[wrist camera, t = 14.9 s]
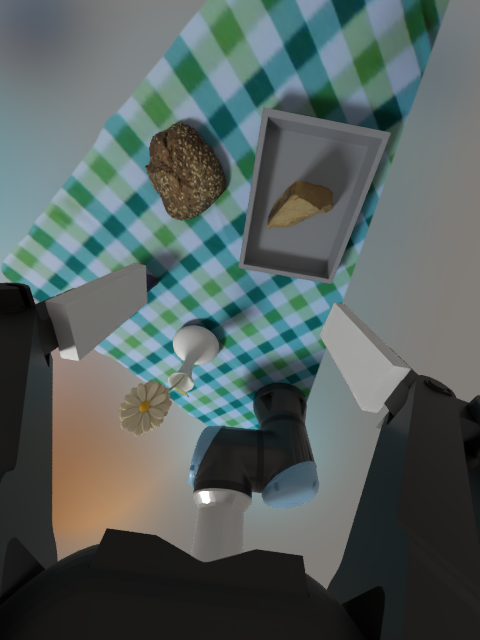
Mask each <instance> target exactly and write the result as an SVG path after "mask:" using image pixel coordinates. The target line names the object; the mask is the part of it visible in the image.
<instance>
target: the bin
mask: <svg viewBox="0 0 480 640" xmlns="http://www.w3.org/2000/svg"><path fill="white" fill-rule="evenodd" d="M390 134H391V133H390V132H385V131H380V130H375V129H370V128H365V127H360V126H355V125H350V124H345V123H340V122H335V121H330V120H325V119H320V118H314V117H309V116H304V115H299V114H294V113H289V112H284V111H279V110H274V109H269V108H264V107H263V113H262V120H261V126H260V133H259V139H258V146H257V152H256V158H255V165H254V171H253V178H252V184H251V191H250V197H249V203H248V210H247V216H246V223H245V229H244V236H243V242H242V248H241V255H240V261H239V268H242V269H248V270H253V271H259V272H265V273H271V274H277V275H282V276H288V277H294V278H300V279H306V280H311V281H317V282H323V283H329V284H332V281H333V279H334V276H335V274H336V271H337V269H338V266H339V264H340V261H341V259H342V256H343V254H344V251H345V248H346V246H347V243H348V241H349V238H350V236H351V233H352V231H353V228H354V226H355V223H356V221H357V218H358V215H359V213H360V210H361V208H362V205H363V203H364V200H365V198H366V195H367V193H368V190H369V188H370V185H371V182H372V180H373V177H374V175H375V172H376V170H377V167H378V165H379V162H380V160H381V157H382V155H383V152H384V149H385V147H386V144H387V142H388V139H389V137H390ZM295 181H303V182H308V183H311V184H315V185H318V184H319V185H322V186H324V187H325V188H329V189H330V191H331V192H333V206H332V207H333V208H332V210H331V211H330V212H328V213H318V214H316V215H315V216H313V217H311V218H309V219H306V220H303V221H302V222H300V223H298V224H296V225H293V226H290V227H273V228H270V229H268V228H267V220H268V216H269V214H270V211H271V209H272V207H273V205H274V203H275V202H276V201H277V199H279V198H280V197H281V196H283V195H284V192H285V190H286V189H287V188H288V187H289V186H290V185H291V184H293V182H295Z"/></svg>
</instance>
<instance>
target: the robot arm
mask: <svg viewBox="0 0 480 640" xmlns="http://www.w3.org/2000/svg"><path fill="white" fill-rule="evenodd" d="M146 303H147V283H146V265H142V264H137V263H133V264H131V265H129V266H126V267H124V268H122V269H119V270H117V271H115V272H112V273H110V274H108V275H105V276H103V277H101V278H98V279H96V280H93V281H91V282H89V283H86V284H84V285H82V286H79V287H77V288H73V289H70V290H68V291H66V292H63V293H61V294H59V295H56V297H55V296H54V297H51V298H49V299H47V300H44V301H42V302H40V303H38V304H35V302H34V299H33V296H32V293H31V290H30V287H29V286H28V285H25V284H21V283H0V640H480V396H479V395H478V396H476V397H475V398H474V399H473V400H472V401H471V402H470V403H468V402H465V401H462V400H460V399H457V398H456V396H455V394H454V393H453V392H452V390H450V389H449V388H448V387H447V386H445V385H444V384H442V383H441V382H439V381H437V380H435V379H433V378H430V377H428V376H423V375H418V374H416V373H415V372H414V371H413V370H412V369H411V368H410V367H409V366H408V365H407V364H406V363H405V362H404V361H402V359H401V358H400V357H399V356H397V354H396V353H395V352H394V351H393V350H392V349H391V348H389V347H388V346H387V345H386V344H385V343H384V342H383V341H382V340H381V339H380V338H379V337H378V336H377V335H376V334H375V333H374V332H373V331H372V330H371V329H370V328H369V327H368V326H367V325H365V324H364V323H363V322H362V321H361V320H360V319H359V318H358V317H357V316H356V315H355V314H354V313H353V312H352V311H351V310H350V309H349V308H348V307H347V306H346V305H344V304H340V303H335V302H334V304H333V307H332V309H331V311H330V313H329V316H328V318H327V320H326V323H325V325H324V327H323V329H322V332H321V334H320V336H321V338H322V340H323V342H324V343H325V345H326V347H327V349H328V351H329V352H330V354H331V356H332V358H333V359H334V361H335V363H336V365H337V367H338V368H339V370H340V372H341V374H342V376H343V377H344V379H345V381H346V383H347V384H348V386H349V388H350V390H351V391H352V393H353V395H354V397H355V399H356V400H357V402H358V404H359V406H360V408H361V409H362V410H364V411H370V412H375V413H378V412H379V410H380V409H381V407H382V406H383V405H384V404H385V405H386V406H387V408H388V409H389V412H388V413H387V415H386V416H385V417H384V418H383V420H382V421H381V422H380V423H379V424H378V426H377V428H380V427H382V428H381V431H380V434H379V438H378V441H377V445H376V448H375V452H374V455H373V458H372V461H371V465H370V468H369V471H368V475H367V478H366V481H365V485H364V488H363V492H362V495H361V498H360V502H359V505H358V509H357V512H356V515H355V518H354V522H353V525H352V529H351V532H350V535H349V538H348V542H347V545H346V549H345V552H344V555H343V559H342V562H341V564H340V567H339V569H338V571H337V572H336V574H335V575H334V577H333V579H332V580H331V582H330V584H329V586H328V588H327V590H326V589H325V588H324V587H323V586H322V585H321V584H320V583H318V582H317V581H316V580H314V579H313V578H312V577H310V576H309V575H307V574H306V573H305V568H304V561H303V556H300V555H293V554H286V553H279V552H271V551H264V550H257V549H256V550H252V551H248V552H244V553H242V545H243V515H244V512H245V511H246V509H247V508H248V507H249V506H250V505H251V503H252V492H257V493H262V498H263V500H264V502H265V504H267V505H268V506H272V507H274V508H290V507H295V506H299V505H302V504H304V503H306V502H308V501H310V500H311V499H312V498H313V497H314V496H315V495H316V494H317V492H318V489H319V482H318V476H317V471H316V464H315V462H314V458H313V454H312V450H311V446H310V443H309V438H308V434H307V431H306V427H305V418H306V407H307V406H306V401H305V397H304V395H303V393H302V392H301V391H300V390H299V389H298V388H296V387H295V386H292V385H289V384H283V383H276V384H271V385H267V386H265V387H263V388H261V389H260V390H259V391H258V392H257V393H256V394H255V396H254V399H253V408H254V412H255V415H256V418H257V420H258V423H259V425H260V430H254V429H245V428H235V427H225V426H209V427H207V428H205V429H204V430H203V432H202V433H201V435H200V437H199V439H198V442H197V445H196V448H195V451H194V454H193V458H192V462H191V463H192V465H191V468H190V471H189V478H188V480H189V485H191V486H192V487H193V488H194V492H193V499H194V501H195V503H196V505H197V507H198V514H197V520H196V526H195V533H194V539H193V544H192V550H191V555H189V554H187V553H186V552H184V551H182V550H181V549H179V548H177V547H175V546H174V545H172V544H170V543H169V542H167V541H165V540H163V539H162V538H160V537H158V536H157V535H150V534H143V533H136V532H129V531H122V530H115V529H106V531H105V534H104V536H103V538H102V540H101V542H100V544H97V545H93V546H90V547H87V548H85V549H83V550H80V551H77V552H75V553H73V554H71V555H69V556H67V557H65V558H64V559H61V560H60V561H58V562H57V550H56V543H55V538H54V533H53V526H52V379H53V377H52V376H53V373H52V371H53V370H52V369H53V368H52V367H53V365H52V364H53V363H52V362H53V360H52V356H51V353H50V352H51V351H53V350H54V349H56V348H57V347H58V348H59V351H60V354H61V358H65V359H72V360H77V361H80V360H81V359H82V358H83V357H84V356H85V355H87V354H88V353H89V352H90V351H91V350H92V349H94V348H95V347H96V346H97V345H98V344H99V343H101V342H102V341H103V340H104V339H105V338H106V337H108V336H109V335H110V334H111V333H112V332H113V331H115V330H116V329H117V328H118V327H119V326H120V325H122V324H123V323H124V322H125V321H126V320H127V319H129V318H130V317H131V316H132V315H133V314H134V313H136V312H137V311H138V310H139V309H140V308H141V307H143V306H144V305H145V304H146Z"/></svg>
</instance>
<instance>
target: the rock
mask: <svg viewBox="0 0 480 640" xmlns="http://www.w3.org/2000/svg"><path fill="white" fill-rule="evenodd" d="M332 206H333V192H331V191H330V189H329V188H325V187H324V186H322V185H319V184H318V185H315V184H311V183H308V182H303V181H295V182H293V184H291V185H290V186H289V187H288V188H287V189H286V190H285V192H284V195H283V196H281V197H280V198H279V199H277V201H276V202H275V203H274V205H273V207H272V209H271V211H270V214H269V216H268V220H267V228H268V229H270V228H273V227H290V226H293V225H296V224H298V223H300V222H302V221H303V220H306V219H309V218H311V217H313V216H315V215H316V214H318V213H328V212H330V211H331V210H332V208H333V207H332Z"/></svg>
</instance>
